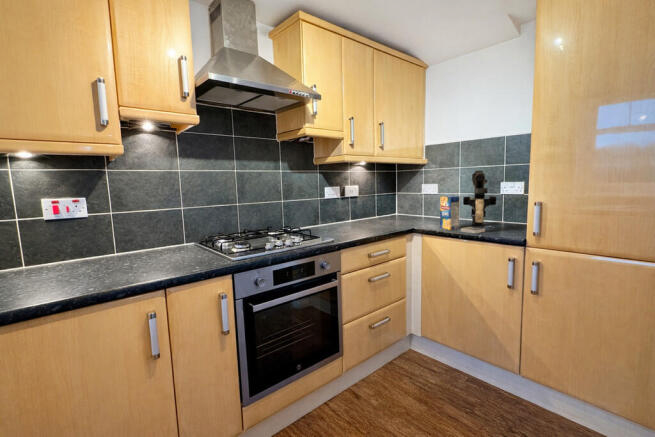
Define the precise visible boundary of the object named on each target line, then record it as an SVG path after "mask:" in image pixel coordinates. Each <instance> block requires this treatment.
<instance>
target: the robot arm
mask: <svg viewBox="0 0 655 437" xmlns="http://www.w3.org/2000/svg"><path fill="white" fill-rule="evenodd" d="M471 182H472V185H473V186H474V196H473V197H471V196H463V197H462V198H463V199H462V200H463V201H462V202H463V203H462V205H464V206H469V207H471V212H470V214H471V219H472V222H471V223H472V224H471V223H470V226H473V227H481V226H482V227H483V226H485V224H484V221H485V220H484V218H486V214H487V213H486V212H487V211H486V209H487V208H488V207H490V206H496V205H497V200H498V199H497V196H491V195H489V196H488V198H486V194H488V187H485V185H486V184H487V183H488V180H487V179H486V175H485V173H484V171H483V170H475V171H474V173H472V175H471ZM477 199H483V200H484V206H483V222H481V223H479V222H475V211H476V200H477Z"/></svg>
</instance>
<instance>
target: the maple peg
mask: <svg viewBox="0 0 655 437" xmlns="http://www.w3.org/2000/svg"><path fill="white" fill-rule="evenodd" d="M483 206H484V200H483V199H477V200H476V211H475V222H479V223H481V222H483V219H484V217H483ZM483 223H484V222H483Z"/></svg>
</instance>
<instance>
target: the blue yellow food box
mask: <svg viewBox="0 0 655 437" xmlns="http://www.w3.org/2000/svg"><path fill="white" fill-rule="evenodd" d="M439 197H440V199H439V200H440V202H439V204H440V205H439V210H440V211H439V214H440V216H439V228H440V229H443V228H444V230H447V229H448V231H454V230H456V231H457V230H460V200H461V198H460V197H461V196H459V195H458V196H457V195H456V196H455V195H442V196H441V195H440V196H439Z"/></svg>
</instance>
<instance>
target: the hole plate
mask: <svg viewBox="0 0 655 437" xmlns="http://www.w3.org/2000/svg"><path fill="white" fill-rule="evenodd" d="M460 232H461V233H469V234H480V233H485V232H486V228H484V227H483V228H482V227H477V226H468V227H461V228H460Z"/></svg>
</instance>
